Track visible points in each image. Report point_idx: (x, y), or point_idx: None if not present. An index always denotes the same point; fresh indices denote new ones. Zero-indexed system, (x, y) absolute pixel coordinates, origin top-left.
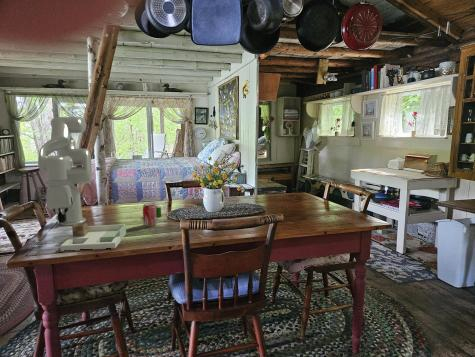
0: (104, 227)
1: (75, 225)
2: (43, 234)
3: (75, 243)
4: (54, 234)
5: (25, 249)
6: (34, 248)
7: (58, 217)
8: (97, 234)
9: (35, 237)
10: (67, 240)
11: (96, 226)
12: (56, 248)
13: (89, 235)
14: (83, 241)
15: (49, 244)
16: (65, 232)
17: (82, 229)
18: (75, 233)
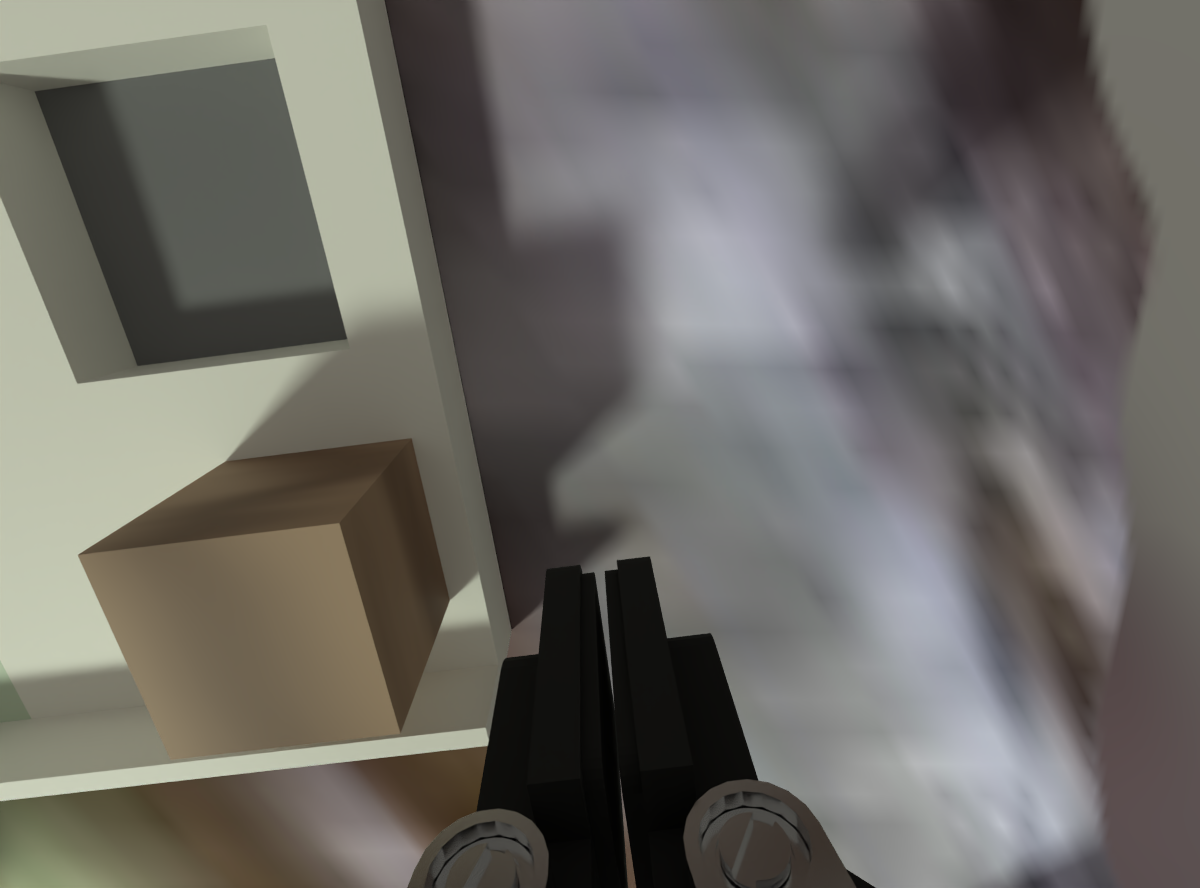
0: (34, 753)
1: (315, 604)
2: (1048, 696)
3: (337, 320)
4: (894, 695)
5: (1056, 98)
6: (923, 141)
7: (706, 703)
8: (52, 542)
9: (1113, 596)
10: (393, 252)
11: (148, 759)
12: (545, 129)
13: (160, 499)
14: (214, 358)
15: (764, 318)
16: (778, 758)
17: (157, 513)
18: (344, 466)
